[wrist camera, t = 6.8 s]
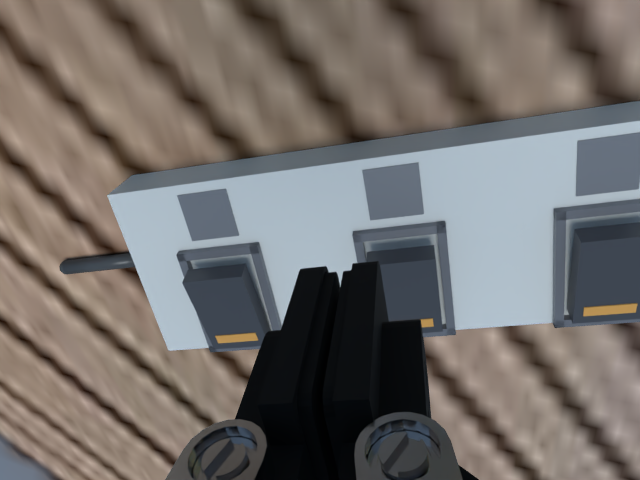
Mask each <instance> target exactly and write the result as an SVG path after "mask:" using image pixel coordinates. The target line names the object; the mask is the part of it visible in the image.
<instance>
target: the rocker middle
mask: <svg viewBox="0 0 640 480" xmlns="http://www.w3.org/2000/svg"><path fill="white" fill-rule="evenodd" d="M372 261H379V264H380V269H381V275H382V281H383V288H384V294H385V300H386V306H387V313H388V319H389V322H390V321H403V320H416V319H421V325H422V332H423V333H431V332H443V327H442V317H441V307H440V297H439V287H438V277H437V267H436V257H435V249H434V245H428V246H418V247H409V248H399V249H390V250H380V251H371V252H367V262H372Z"/></svg>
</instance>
